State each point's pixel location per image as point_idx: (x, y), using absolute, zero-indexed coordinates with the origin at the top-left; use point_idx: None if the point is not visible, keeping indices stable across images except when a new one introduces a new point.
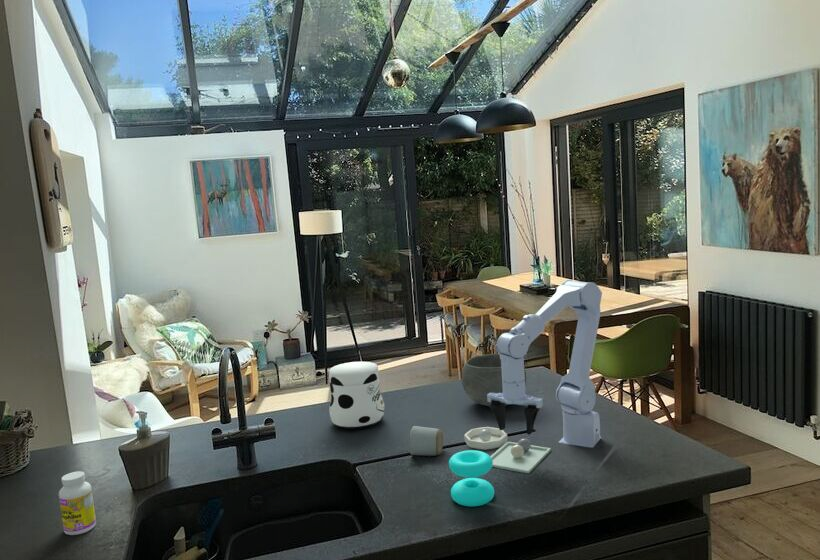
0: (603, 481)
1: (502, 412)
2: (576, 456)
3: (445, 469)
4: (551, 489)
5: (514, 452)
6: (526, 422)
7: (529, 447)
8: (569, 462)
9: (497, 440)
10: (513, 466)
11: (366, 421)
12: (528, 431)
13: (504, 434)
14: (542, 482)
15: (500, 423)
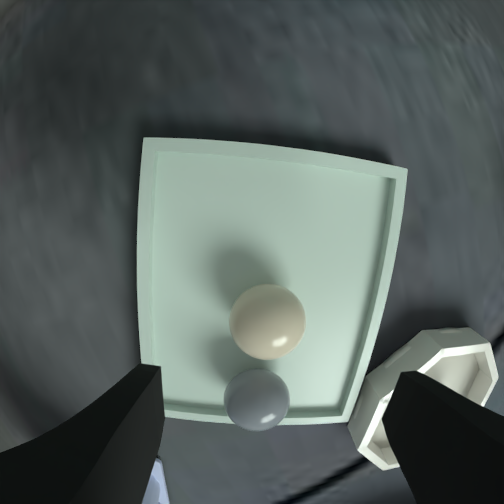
0: None
1: (451, 500)
2: (61, 384)
3: (497, 125)
4: (45, 69)
5: (273, 289)
6: (111, 436)
7: (225, 389)
8: (54, 332)
9: (391, 393)
10: (250, 192)
11: None
12: (135, 375)
13: (367, 447)
14: (81, 105)
15: (440, 398)
